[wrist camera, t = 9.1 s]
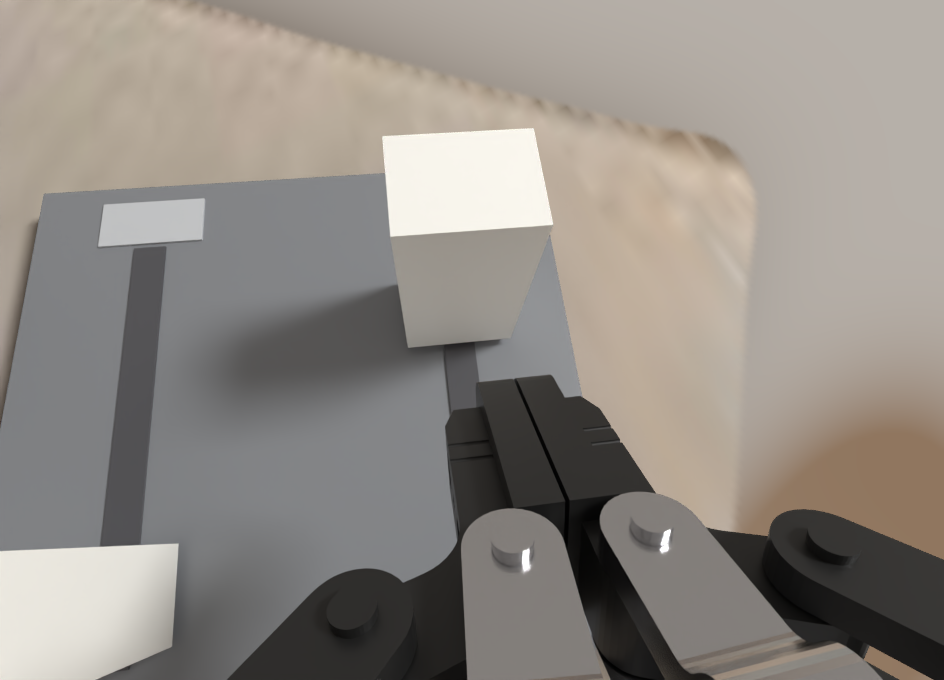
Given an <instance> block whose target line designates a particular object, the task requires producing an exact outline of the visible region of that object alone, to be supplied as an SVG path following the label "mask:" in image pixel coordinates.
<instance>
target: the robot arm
mask: <svg viewBox="0 0 944 680" xmlns="http://www.w3.org/2000/svg"><path fill="white" fill-rule="evenodd" d="M445 434H446V447H447V459H448V472H449V484H450V493H451V500H452V508H453V515H454V522H455V529H456V536H457V543H456V545H455V547H454V548H453V550H452V551H451V553H450V554H449V555H448V556H447V558H446V559H444V560H443V561H442V562H441V563H440V564H439V565H437V566H436V567H434V568H433V569H431V570H429V571H428V572H426V573H424V574H422V575H419V576H417V577H415V578H413V579H410V580H408V581H406V582H404V583H403V582H402V581H401V580H400V579H399V578H397V577H396V576H394V575H393V574H391V573H388V572H386V571H383V570H379V569H371V568H363V569H355V570H350V571H346V572H344V573H341V574H338V575H336V576H334V577H332V578H330V579H328V580H327V581H325V582H324V583H323V584H321V585H320V586H319V587H317V588H316V589H315V590H314V591H313V592H312V593H311V594H310V595H309V596H308V597H307V598H306V599H305V600H304V601H303V602H302V603H301V604H300V605H299V606H298V607H297V608H296V609H295V610H294V611H293V612H292V613H291V614H290V615H289V616H288V617H287V618H286V619H285V620H284V621H283V622H282V624H281V625H280V626H279V627H278V628H277V629H276V630H275V631H274V632H273V633H272V634H271V635H270V636H269V637H268V638H267V639H266V640H265V641H264V642H263V643H262V644H261V645H260V646H259V647H258V648H257V649H256V650H255V651H254V652H253V653H252V654H251V655H250V656H249V657H248V658H247V659H246V660H245V661H244V662H243V663H242V664H241V665H240V666H239V667H238V668H237V670H236V671H235V672H234V673H233V674H232V675H231V676H230V677H229V678H228V679H227V680H899V679H897V678H895V677H893V676H891V675H890V674H888V673H886V672H884V671H882V670H880V669H879V668H877V667H875V666H873V665H871V664H870V663H868V662H866V661H864V658H865V655H866V653H867V650H868V648H869V646H872V647H874V648H876V649H877V650H879V651H881V652H883V653H885V654H887V655H888V656H890V657H892V658H894V659H896V660H898V661H900V662H902V663H903V664H906V665H907V666H909V667H911V668H913V669H915V670H917V671H918V672H920V673H922V674H924V675H926V676H928V677H930V678H931V679H933V680H944V560H943V559H940V558H938V557H936V556H933V555H931V554H928V553H926V552H923V551H921V550H919V549H916V548H914V547H912V546H909V545H907V544H904V543H902V542H899V541H897V540H895V539H892V538H890V537H887V536H885V535H883V534H880V533H878V532H875V531H873V530H871V529H868V528H866V527H863V526H861V525H858V524H856V523H854V522H851V521H849V520H846V519H844V518H841V517H838V516H836V515H833V514H829V513H825V512H821V511H816V510H806V509H802V510H792V511H787V512H784V513H782V514H780V515H779V516H777V517H776V518H775V519H774V520H773V522H772V524H771V526H770V530H769V534H768V536H761V535H752V534H745V533H736V532H728V531H721V530H715V529H710V528H707V527H705V526H704V525H703V524H702V522H701V521H700V520H699V519H698V518H697V516H696V515H695V514H694V513H693V512H692V511H691V510H689V509H688V508H687V507H685V506H684V505H682V504H681V503H679V502H678V501H675V500H673V499H671V498H669V497H666V496H663V495H660V494H656V493H655V491H654V490H653V488H652V487H651V485H650V484H649V482H648V481H647V479H646V478H645V476H644V475H643V473H642V472H641V470H640V469H639V467H638V466H637V464H636V463H635V461H634V460H633V458H632V457H631V455H630V454H629V452H628V451H627V449H626V448H625V446H624V445H623V443H620V439H619V437H618V436H617V434H616V433H615V431H614V430H613V429H611V425H610V424H609V422H608V421H607V419H606V418H605V416H604V415H603V413H602V411H601V410H600V409H599V408H598V407H596V406H595V405H593V404H592V403H590V402H589V401H587V400H586V399H584V398H583V397H581V396H574V397H564V395H563V393H562V392H561V390H560V388H559V386H558V385H557V383H556V381H555V379H554V378H553V376H552V375H550V374H549V375H540V376H530V377H521V378H515V379H514V380H513V379H503V380H493V381H484V382H476V408H467V409H458V410H453V412H452V414H451V416H450V417H449V419H448V421H447V423H446V425H445ZM585 616H586V617H585ZM586 619H587V621H586ZM587 622H588V624H589V627H590V630H591V635H590V631H589V628H588V624H587Z"/></svg>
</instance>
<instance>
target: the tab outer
mask: <svg viewBox="0 0 944 680" xmlns="http://www.w3.org/2000/svg"><path fill="white" fill-rule="evenodd" d="M382 139H383V151H384V164H385V176H386V189H387V201H388V214H389V227H390V238H391V244H392V251H393V257H394V263H395V269H396V276H397V282H398V288H399V295H400V301H401V307H402V313H403V320H404V326H405V332H406V339H407V345H408V348H411V347H422V346H432V345H443V344H454V343H464V342H475V341H485V340H496V339H507V338H511V335H512V333H513V330H514V328H515V325H516V322H517V320H518V317H519V314H520V312H521V309H522V306H523V304H524V301H525V298H526V296H527V293H528V290H529V288H530V285H531V282H532V280H533V277H534V274H535V272H536V269H537V267H538V264H539V261H540V259H541V256H542V253H543V251H544V248H545V245H546V243H547V240H548V237H549V235H550V232H551V229H552V227H553V221H552V217H551V212H550V207H549V202H548V197H547V192H546V187H545V182H544V177H543V172H542V167H541V162H540V158H539V153H538V148H537V143H536V138H535V133H534V128H529V129H510V130H491V131H473V132H454V133H435V134H416V135H397V136H382Z"/></svg>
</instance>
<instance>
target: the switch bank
mask: <svg viewBox="0 0 944 680" xmlns="http://www.w3.org/2000/svg"><path fill="white" fill-rule="evenodd" d="M549 374H550V375H552V376H553V378H554V379H555V381H556V383H557V385H558V386H559V388H560V390H561V392H562V393H563V395H564V397H574V396H581V397H582V393H581V388H580V383H579V378H578V373H577V368H576V363H575V358H574V353H573V348H572V343H571V338H570V333H569V328H568V323H567V318H566V313H565V308H564V303H563V298H562V293H561V288H560V283H559V278H558V273H557V268H556V263H555V258H554V253H553V248H552V243H551V237H550V235H549V237H548V240H547V243H546V245H545V248H544V251H543V253H542V256H541V259H540V261H539V264H538V267H537V269H536V272H535V274H534V277H533V280H532V282H531V285H530V288H529V290H528V293H527V296H526V298H525V301H524V304H523V306H522V309H521V312H520V314H519V317H518V320H517V322H516V325H515V328H514V330H513V333H512V335H511V338H507V339H496V340H485V341H475V342H464V343H454V344H443V345H432V346H422V347H411V348H408V345H407V339H406V332H405V326H404V320H403V313H402V307H401V301H400V295H399V288H398V282H397V276H396V269H395V263H394V257H393V251H392V244H391V238H390V227H389V214H388V201H387V189H386V176H385V173H381V174H365V175H348V176H331V177H315V178H298V179H282V180H265V181H248V182H232V183H215V184H199V185H182V186H165V187H149V188H132V189H116V190H99V191H82V192H66V193H49V194H44V196H43V201H42V207H41V212H40V217H39V223H38V228H37V234H36V239H35V244H34V250H33V255H32V260H31V266H30V271H29V276H28V282H27V287H26V293H25V298H24V303H23V309H22V314H21V319H20V325H19V330H18V336H17V341H16V346H15V352H14V357H13V362H12V368H11V373H10V378H9V384H8V389H7V395H6V400H5V405H4V411H3V416H2V421H1V427H0V551H15V550H38V549H62V548H85V547H108V546H131V545H154V544H178V543H179V546H178V561H177V577H176V592H175V608H174V623H173V639H172V647H170V648H168V649H166V650H163V651H161V652H159V653H157V654H154V655H152V656H150V657H147V658H145V659H143V660H140V661H138V662H136V663H133V664H131V665H129V666H126V667H124V668H122V669H119V670H117V671H115V672H113V673H110V674H108V675H106V676H103V677H101V678H99V679H96V680H227V679H228V678H229V677H230V676H231V675H232V674H233V673H234V672H235V671H236V670H237V668H238V667H239V666H240V665H241V664H242V663H243V662H244V661H245V660H246V659H247V658H248V657H249V656H250V655H251V654H252V653H253V652H254V651H255V650H256V649H257V648H258V647H259V646H260V645H261V644H262V643H263V642H264V641H265V640H266V639H267V638H268V637H269V636H270V635H271V634H272V633H273V632H274V631H275V630H276V629H277V628H278V627H279V626H280V625H281V624H282V622H283V621H284V620H285V619H286V618H287V617H288V616H289V615H290V614H291V613H292V612H293V611H294V610H295V609H296V608H297V607H298V606H299V605H300V604H301V603H302V602H303V601H304V600H305V599H306V598H307V597H308V596H309V595H310V594H311V593H312V592H313V591H314V590H315V589H316V588H317V587H319V586H320V585H321V584H323V583H324V582H325V581H327V580H328V579H330V578H332V577H334V576H336V575H338V574H341V573H344V572H346V571H350V570H355V569H363V568H371V569H379V570H383V571H386V572H388V573H391V574H393V575H394V576H396V577H397V578H399V579H400V580H401V581H402V582H403V583H404V582H406V581H408V580H410V579H413V578H415V577H417V576H419V575H422V574H424V573H426V572H428V571H429V570H431V569H433V568H434V567H436V566H437V565H439V564H440V563H441V562H442V561H443V560H444V559H446V558H447V556H448V555H449V554H450V553H451V551H452V550H453V548H454V547H455V545H456V543H457V536H456V529H455V522H454V515H453V508H452V500H451V493H450V484H449V472H448V459H447V447H446V434H445V425H446V423H447V421H448V419H449V417H450V416H451V414H452V412H453V410H458V409H467V408H476V382H484V381H493V380H503V379H513V380H514V379H515V378H521V377H530V376H540V375H549ZM585 617H586V616H585ZM586 621H587V619H586ZM587 624H588V622H587ZM588 628H589V631H590V635H591V630H590V627H589V624H588Z"/></svg>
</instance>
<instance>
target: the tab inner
mask: <svg viewBox="0 0 944 680" xmlns="http://www.w3.org/2000/svg"><path fill="white" fill-rule="evenodd" d="M178 546H179V543H178V544H154V545H131V546H108V547H85V548H62V549H38V550H15V551H0V680H96V679H99V678H101V677H103V676H106V675H108V674H110V673H113V672H115V671H117V670H119V669H122V668H124V667H126V666H129V665H131V664H133V663H136V662H138V661H140V660H143V659H145V658H147V657H150V656H152V655H154V654H157V653H159V652H161V651H163V650H166V649H168V648H170V647H172V639H173V623H174V608H175V592H176V577H177V561H178Z"/></svg>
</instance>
